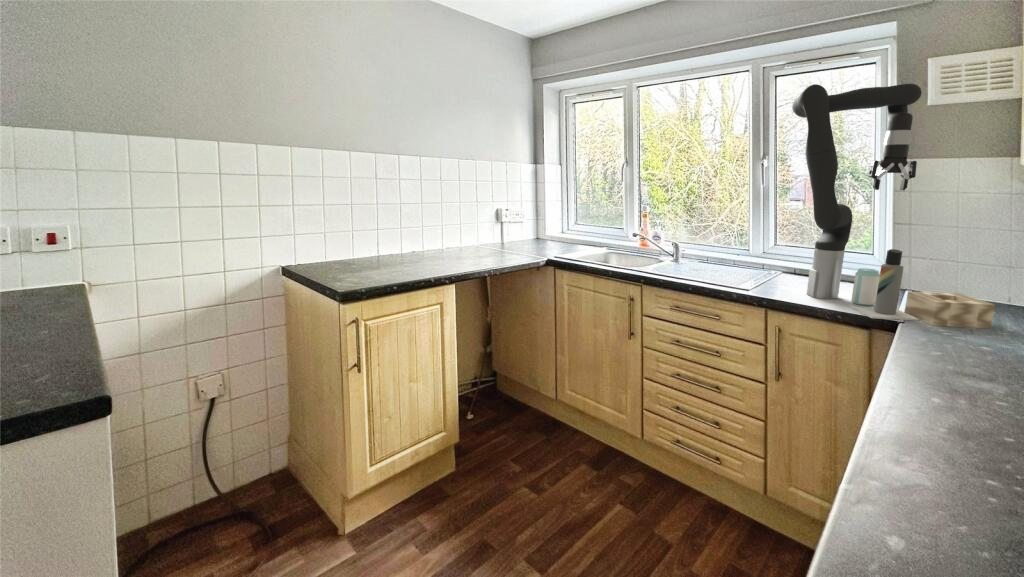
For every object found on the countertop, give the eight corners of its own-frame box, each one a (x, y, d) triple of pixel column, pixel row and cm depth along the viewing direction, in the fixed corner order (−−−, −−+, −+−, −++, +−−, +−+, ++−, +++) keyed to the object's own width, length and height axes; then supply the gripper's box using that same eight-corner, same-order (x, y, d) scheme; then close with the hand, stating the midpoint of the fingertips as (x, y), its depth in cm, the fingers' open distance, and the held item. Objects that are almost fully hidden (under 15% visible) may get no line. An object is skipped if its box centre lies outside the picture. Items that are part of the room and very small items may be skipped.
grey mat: (871, 318, 161) (871, 316, 161) (852, 308, 174) (852, 306, 174) (918, 320, 159) (919, 319, 159) (895, 310, 172) (896, 308, 171)
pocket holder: (932, 325, 154) (936, 302, 153) (904, 312, 168) (907, 291, 167) (990, 328, 151) (995, 304, 150) (956, 315, 166) (961, 293, 164)
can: (861, 301, 184) (866, 267, 182) (880, 305, 178) (886, 270, 175) (846, 302, 182) (851, 268, 180) (865, 307, 175) (870, 271, 173)
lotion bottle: (892, 311, 168) (902, 249, 164) (898, 315, 163) (909, 251, 159) (871, 309, 170) (881, 248, 166) (877, 313, 165) (887, 250, 160)
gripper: (879, 143, 185) (872, 190, 189) (924, 143, 183) (917, 190, 186) (869, 144, 192) (863, 189, 196) (912, 144, 190) (905, 190, 193)
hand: (889, 190), depth 191 cm, fingers open, 8 cm apart
